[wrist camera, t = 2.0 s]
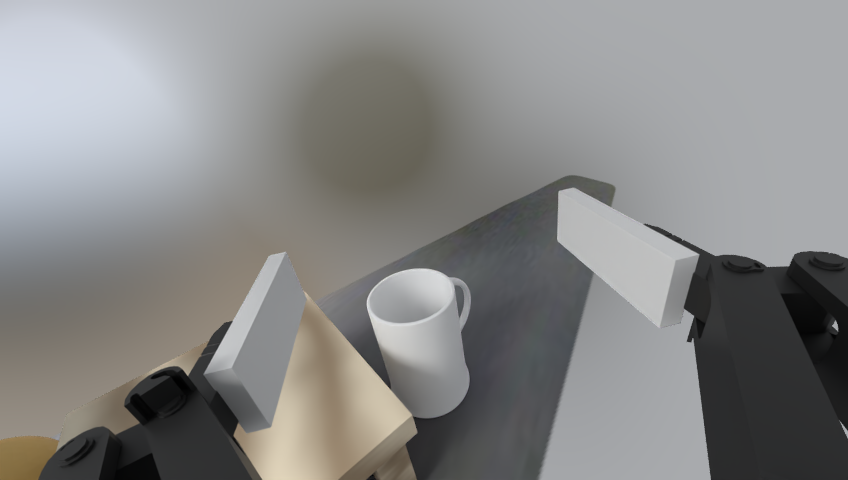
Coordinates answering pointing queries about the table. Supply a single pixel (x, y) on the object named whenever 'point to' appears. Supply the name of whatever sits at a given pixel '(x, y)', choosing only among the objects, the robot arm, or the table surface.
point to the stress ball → (25, 456)
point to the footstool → (301, 413)
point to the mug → (422, 339)
